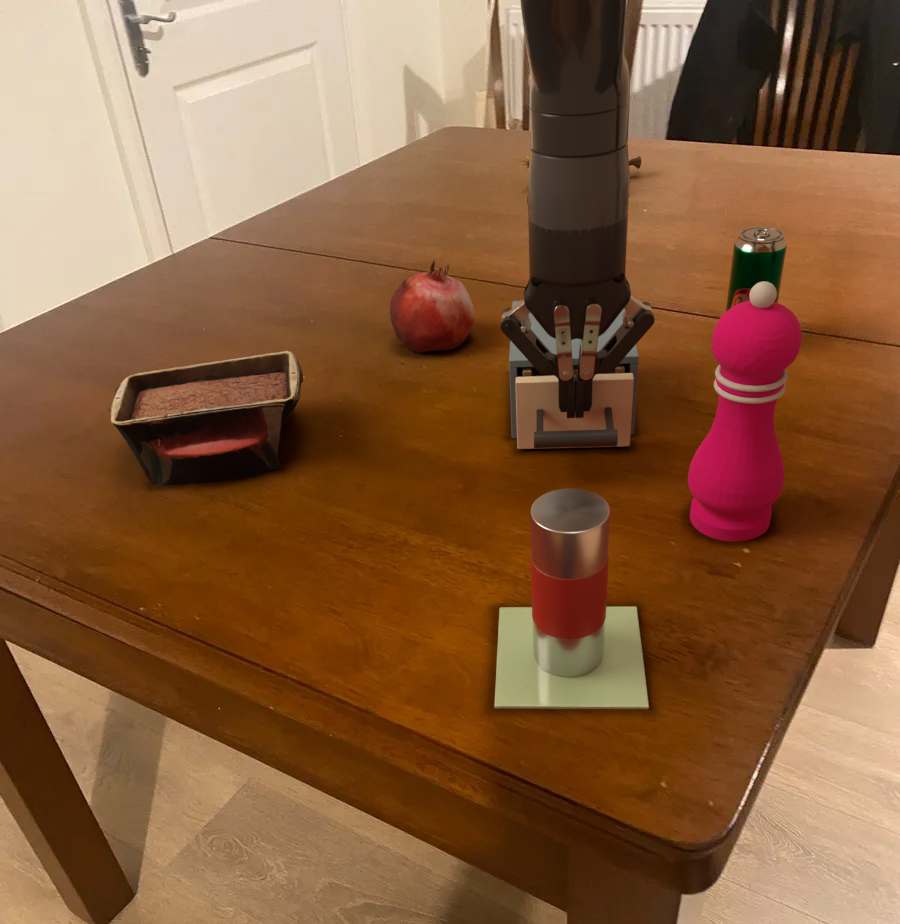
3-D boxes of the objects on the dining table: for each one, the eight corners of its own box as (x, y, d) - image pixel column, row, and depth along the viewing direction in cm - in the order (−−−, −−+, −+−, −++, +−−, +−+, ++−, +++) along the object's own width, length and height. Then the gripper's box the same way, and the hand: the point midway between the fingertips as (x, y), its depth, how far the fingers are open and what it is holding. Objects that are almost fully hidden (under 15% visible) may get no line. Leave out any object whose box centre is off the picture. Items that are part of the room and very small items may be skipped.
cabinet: (633, 439, 86) (639, 356, 80) (511, 443, 87) (509, 360, 82) (623, 374, 96) (628, 295, 91) (514, 377, 97) (512, 300, 92)
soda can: (720, 357, 97) (735, 242, 90) (721, 336, 101) (735, 225, 93) (770, 358, 96) (789, 242, 88) (770, 338, 100) (787, 225, 92)
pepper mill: (665, 527, 75) (688, 287, 62) (715, 489, 79) (746, 255, 66) (743, 562, 71) (785, 312, 58) (792, 520, 74) (842, 277, 62)
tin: (602, 629, 65) (608, 486, 57) (606, 678, 61) (613, 532, 54) (532, 629, 65) (529, 488, 58) (532, 678, 62) (529, 534, 54)
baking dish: (163, 438, 97) (118, 356, 90) (325, 398, 95) (292, 311, 88) (142, 525, 86) (90, 440, 79) (324, 482, 85) (286, 390, 78)
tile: (636, 614, 67) (636, 605, 67) (648, 715, 60) (649, 706, 59) (499, 614, 68) (499, 606, 68) (494, 714, 61) (494, 706, 60)
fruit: (377, 349, 105) (366, 262, 99) (441, 322, 109) (434, 237, 103) (427, 373, 99) (418, 282, 93) (492, 344, 104) (488, 256, 97)
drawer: (634, 479, 79) (639, 410, 75) (516, 482, 80) (514, 413, 76) (620, 383, 93) (623, 319, 88) (519, 386, 94) (518, 323, 89)
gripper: (488, 230, 67) (498, 438, 78) (672, 220, 66) (656, 433, 77) (492, 198, 73) (500, 396, 84) (661, 188, 71) (647, 391, 83)
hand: (575, 413), depth 80 cm, fingers closed
